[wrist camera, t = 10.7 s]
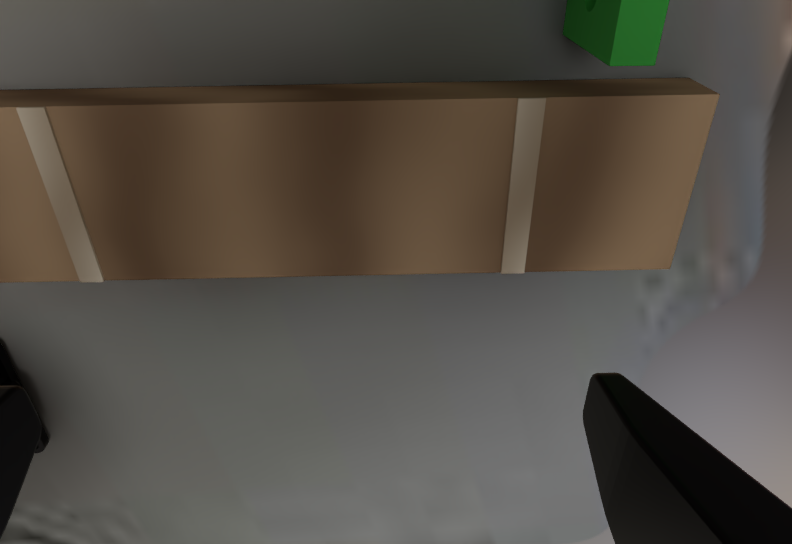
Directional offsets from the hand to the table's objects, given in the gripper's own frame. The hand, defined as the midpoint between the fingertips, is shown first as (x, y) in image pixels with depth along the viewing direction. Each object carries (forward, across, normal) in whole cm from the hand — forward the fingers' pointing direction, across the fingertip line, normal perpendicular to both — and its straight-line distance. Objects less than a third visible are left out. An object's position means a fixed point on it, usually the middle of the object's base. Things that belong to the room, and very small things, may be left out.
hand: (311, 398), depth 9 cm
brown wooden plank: (+12, +1, +1) cm, 12 cm away
